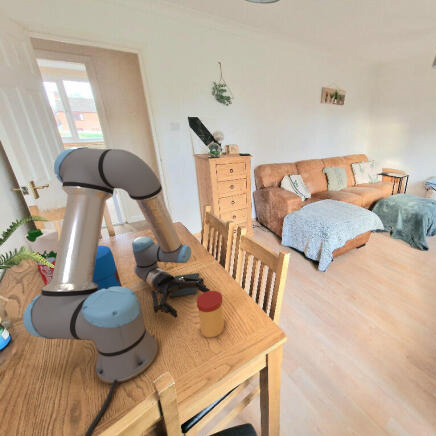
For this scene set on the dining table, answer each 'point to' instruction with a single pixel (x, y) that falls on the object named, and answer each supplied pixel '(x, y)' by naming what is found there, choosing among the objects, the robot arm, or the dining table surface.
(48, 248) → the milk carton
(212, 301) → the jam lid
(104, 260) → the thermos
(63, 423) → the dining table surface
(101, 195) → the robot arm
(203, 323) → the jam jar
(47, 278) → the soda can
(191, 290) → the mat
